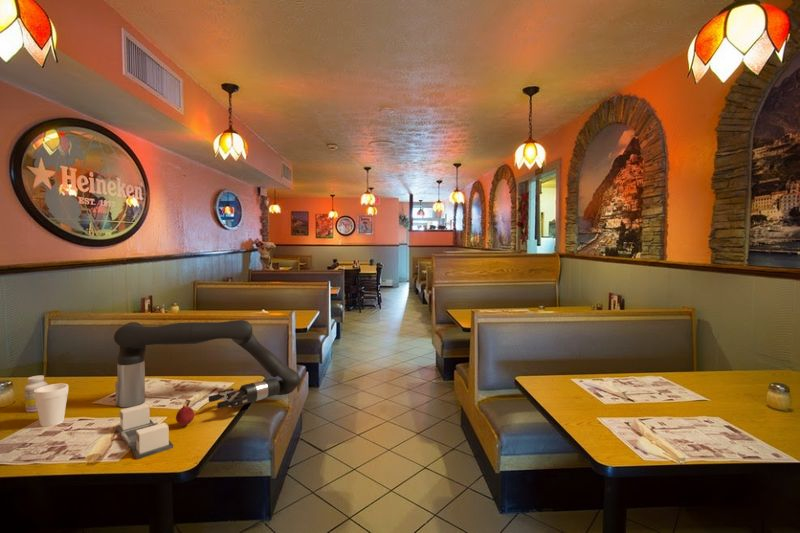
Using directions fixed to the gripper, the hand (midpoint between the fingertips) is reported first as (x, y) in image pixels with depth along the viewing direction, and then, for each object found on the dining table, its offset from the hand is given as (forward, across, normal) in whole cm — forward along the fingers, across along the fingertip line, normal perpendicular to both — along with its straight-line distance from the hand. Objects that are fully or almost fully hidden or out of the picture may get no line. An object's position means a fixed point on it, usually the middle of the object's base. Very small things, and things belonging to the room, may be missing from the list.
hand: (213, 402), depth 148 cm
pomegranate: (+10, 0, +6) cm, 12 cm away
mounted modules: (+23, 0, +5) cm, 23 cm away
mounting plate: (+23, 0, +6) cm, 24 cm away
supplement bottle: (+46, -56, +6) cm, 73 cm away
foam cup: (+43, -36, +6) cm, 56 cm away
